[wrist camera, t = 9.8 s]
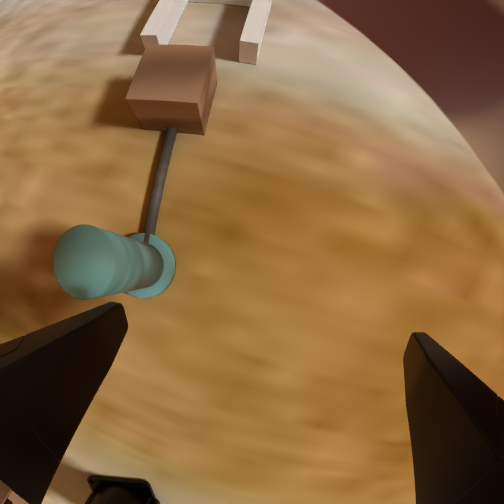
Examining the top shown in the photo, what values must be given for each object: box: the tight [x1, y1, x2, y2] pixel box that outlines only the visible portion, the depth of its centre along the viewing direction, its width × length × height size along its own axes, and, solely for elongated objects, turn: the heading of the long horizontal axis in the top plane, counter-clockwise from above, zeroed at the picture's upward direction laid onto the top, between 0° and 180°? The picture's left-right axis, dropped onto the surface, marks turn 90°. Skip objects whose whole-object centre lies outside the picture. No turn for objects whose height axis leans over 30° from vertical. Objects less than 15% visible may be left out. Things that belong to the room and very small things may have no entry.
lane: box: [140, 0, 272, 64], centre depth 22 cm, size 10×10×3 cm
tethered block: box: [53, 45, 217, 299], centre depth 17 cm, size 18×5×10 cm, turn 171°
